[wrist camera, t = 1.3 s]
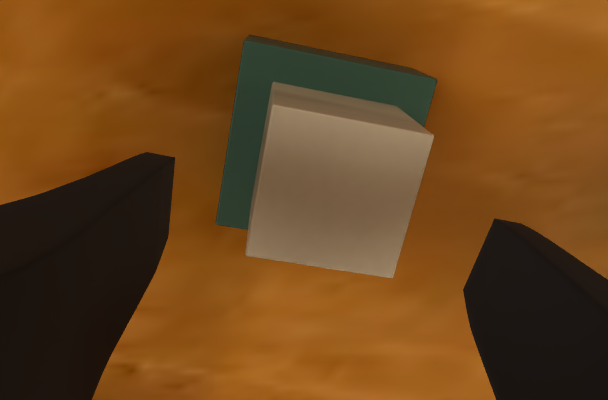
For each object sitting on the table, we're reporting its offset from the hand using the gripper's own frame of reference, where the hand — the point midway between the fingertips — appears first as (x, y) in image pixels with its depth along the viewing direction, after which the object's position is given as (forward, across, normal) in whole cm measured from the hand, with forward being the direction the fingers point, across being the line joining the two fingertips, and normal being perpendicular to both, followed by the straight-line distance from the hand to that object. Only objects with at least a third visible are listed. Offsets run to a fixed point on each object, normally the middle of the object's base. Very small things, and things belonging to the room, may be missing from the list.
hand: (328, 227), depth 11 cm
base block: (+11, 0, +2) cm, 11 cm away
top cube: (+8, 0, +2) cm, 8 cm away
